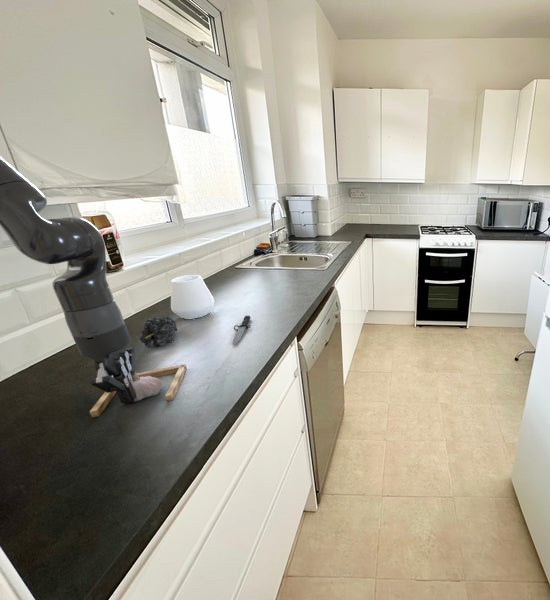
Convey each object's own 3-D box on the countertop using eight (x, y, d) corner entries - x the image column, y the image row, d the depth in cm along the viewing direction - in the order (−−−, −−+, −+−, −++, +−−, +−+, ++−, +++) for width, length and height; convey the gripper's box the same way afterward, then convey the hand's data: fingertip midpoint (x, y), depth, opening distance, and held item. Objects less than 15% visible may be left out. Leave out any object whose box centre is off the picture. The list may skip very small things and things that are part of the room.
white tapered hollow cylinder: (225, 311, 116) (216, 275, 111) (188, 325, 105) (177, 286, 100) (202, 305, 122) (193, 271, 117) (166, 318, 111) (154, 281, 106)
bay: (173, 400, 69) (171, 394, 69) (92, 417, 65) (89, 411, 64) (187, 368, 81) (185, 364, 80) (119, 381, 76) (116, 376, 76)
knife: (241, 341, 91) (222, 343, 90) (242, 347, 92) (224, 349, 91) (254, 314, 108) (238, 315, 107) (255, 319, 109) (240, 320, 108)
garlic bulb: (113, 408, 67) (99, 377, 64) (137, 387, 74) (126, 358, 71) (150, 406, 68) (138, 375, 65) (170, 385, 74) (160, 356, 72)
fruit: (158, 304, 99) (135, 322, 86) (188, 308, 102) (171, 327, 89) (155, 328, 101) (133, 350, 88) (185, 332, 104) (168, 354, 91)
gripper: (91, 316, 64) (121, 387, 70) (51, 346, 52) (90, 427, 58) (136, 310, 66) (160, 379, 72) (106, 337, 55) (138, 416, 61)
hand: (129, 400), depth 65 cm, fingers closed
